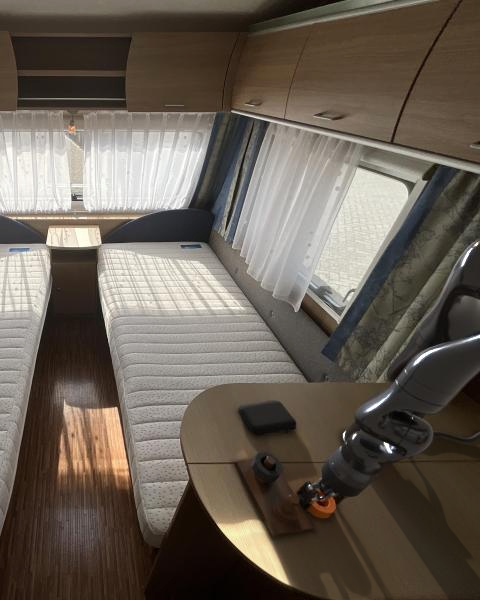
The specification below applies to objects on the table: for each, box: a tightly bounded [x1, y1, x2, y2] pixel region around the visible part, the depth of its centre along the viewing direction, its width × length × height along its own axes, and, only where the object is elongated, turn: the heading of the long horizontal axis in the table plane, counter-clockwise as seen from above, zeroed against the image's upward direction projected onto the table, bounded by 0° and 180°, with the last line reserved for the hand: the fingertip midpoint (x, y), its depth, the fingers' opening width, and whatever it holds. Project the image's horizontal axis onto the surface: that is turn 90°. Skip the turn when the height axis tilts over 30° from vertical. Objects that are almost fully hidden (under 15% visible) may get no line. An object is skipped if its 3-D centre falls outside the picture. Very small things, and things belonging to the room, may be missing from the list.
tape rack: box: [234, 456, 316, 538], centre depth 81 cm, size 10×17×8 cm, turn 8°
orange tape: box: [306, 490, 337, 520], centre depth 81 cm, size 6×6×3 cm
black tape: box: [252, 451, 284, 482], centre depth 84 cm, size 6×6×3 cm
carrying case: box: [237, 399, 297, 436], centre depth 99 cm, size 11×3×15 cm
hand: (317, 503), depth 82 cm, fingers open, 7 cm apart
